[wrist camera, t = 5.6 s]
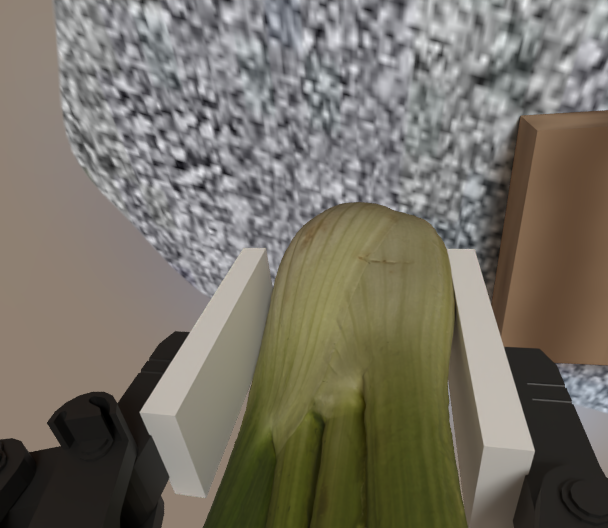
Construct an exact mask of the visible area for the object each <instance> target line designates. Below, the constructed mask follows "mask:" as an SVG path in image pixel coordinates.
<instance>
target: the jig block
mask: <svg viewBox="0 0 608 528" xmlns="http://www.w3.org/2000/svg"><path fill="white" fill-rule="evenodd" d="M491 306H492V309H493V313H494V316H495V319H496V323H497V326H498V329H499V333H500V336H501V339H502V343H503V346H504V347H520V348H539V349H541V350H542V351H543V352H544V353H545V354H546V355H547V356H548V357H549V358H550V359H551V360H552V361H553V362H554V363H571V364H593V365H608V110H605V111H589V112H572V113H556V114H540V115H524V116H520V122H519V129H518V135H517V142H516V148H515V155H514V161H513V168H512V174H511V181H510V187H509V194H508V200H507V207H506V213H505V220H504V226H503V233H502V239H501V246H500V252H499V259H498V265H497V271H496V278H495V284H494V291H493V297H492V304H491Z"/></svg>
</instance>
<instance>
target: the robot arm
mask: <svg viewBox="0 0 608 528" xmlns="http://www.w3.org/2000/svg"><path fill="white" fill-rule="evenodd" d="M447 253H448V256H449V260H450V265H451V272H452V280H453V288H454V296H455V324H454V332H453V338H452V345H451V354H450V363H449V375H448V382H449V389H450V398H451V406H452V414H453V421H454V429H455V437H456V445H457V453H458V461H459V469H460V477H461V484H462V492H463V500H464V508H465V515H466V520H467V524H468V528H608V478H607V477H606V476H605V474H604V472H603V471H602V469H601V467H600V465H599V463H598V461H597V458H596V456H595V454H594V451H593V449H592V447H591V444H590V442H589V440H588V437H587V435H586V433H585V430H584V428H583V426H582V423H581V421H580V419H579V416H578V414H577V412H576V409H575V407H574V405H573V404H572V402H571V401H572V400H571V398H570V395H569V393H568V391H567V388H565V384H564V381H563V379H562V377H561V374H560V372H559V370H558V367H557V365H556V364H555V363H554V362H553V361H552V360H551V359H550V358H549V357H548V356H547V355H546V354H545V353H544V352H543V351H542V350H541V349H539V348H520V347H504V346H503V343H502V339H501V336H500V333H499V329H498V326H497V323H496V319H495V316H494V313H493V309H492V306H491V303H490V299H489V296H488V293H487V289H486V286H485V283H484V279H483V276H482V273H481V269H480V266H479V263H478V259H477V256H476V253H475V249H447ZM272 291H273V288H272V282H271V276H270V270H269V264H268V258H267V252H266V248H243V250H242V251H241V253H240V254H239V256H238V258H237V259H236V261H235V262H234V264H233V265H232V267H231V269H230V270H229V272H228V273H227V275H226V277H225V278H224V280H223V281H222V283H221V284H220V286H219V288H218V289H217V291H216V292H215V294H214V296H213V297H212V299H211V300H210V302H209V303H208V305H207V307H206V308H205V310H204V311H203V313H202V315H201V316H200V318H199V319H198V321H197V322H196V324H195V326H194V327H193V329H192V330H191V332H177V331H175V332H174V333H173V334H171V335H170V336H169V337H167V338H166V339H165V340H163V341H162V342H161V343H160V344H159V345H158V346H157V348H156V349H155V351H154V352H153V354H152V355H151V356H150V358H149V361H147V362H146V363H145V365H144V366H143V368H142V369H141V373H138V375H137V377H136V378H135V379H134V381H133V382H132V383H131V385H130V386H129V388H128V389H127V390H126V392H125V393H124V395H123V396H122V398H121V399H120V401H119V402H118V403H117V402H116V400H115V399H114V397H113V396H112V395H110V394H108V393H105V392H90V393H87V394H83V395H80V396H78V397H76V398H74V399H72V400H70V401H68V402H66V403H65V404H64V405H63V406H62V407H60V408H59V409H58V410H57V411H55V412H54V414H53V415H52V417H51V418H50V419H49V421H48V422H47V424H48V425H49V427H50V429H51V430H52V432H53V433H54V435H55V437H56V438H57V440H58V442H59V443H60V445H61V446H59V447H55V448H49V449H44V450H39V451H34V452H28V451H27V449H26V448H25V446H24V445H23V443H22V442H21V441H19V440H16V439H13V438H11V439H1V440H0V528H161V525H162V521H163V516H164V501H163V499H162V497H161V494H162V492H163V490H164V488H165V486H166V484H167V482H168V480H170V483H171V485H172V487H173V489H174V492H175V494H182V495H189V496H196V497H203V498H206V497H207V495H208V492H209V489H210V487H211V484H212V482H213V479H214V477H215V474H216V471H217V469H218V466H219V463H220V461H221V459H222V456H223V454H224V451H225V449H226V446H227V443H228V441H229V438H230V436H231V433H232V431H233V428H234V425H235V423H236V420H237V418H238V415H239V413H240V410H241V407H242V405H243V402H244V400H245V397H246V394H247V392H248V389H249V387H250V384H251V381H252V379H253V376H254V372H255V367H256V363H257V360H258V356H259V351H260V347H261V342H262V338H263V333H264V329H265V324H266V320H267V315H268V312H269V307H270V302H271V296H272Z"/></svg>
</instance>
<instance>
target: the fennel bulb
mask: <svg viewBox="0 0 608 528" xmlns="http://www.w3.org/2000/svg"><path fill="white" fill-rule="evenodd" d="M454 324H455V296H454V288H453V280H452V272H451V265H450V260H449V256H448V253H447V249H446V247H445V244H444V242H443V241H442V239H441V237H440V236H439V235H438V234H437V232H436V230H435V229H434V228H433V227H432V226H431V224H430V223H428V222H427V221H426V220H424V219H421V218H418V217H416V216H414V215H409V214H406V213H403V212H398V211H394V210H392V209H390V208H388V207H386V206H382V205H379V204H375V203H364V202H354V203H343V204H339V205H337V206H334V207H331V208H329V209H327V210H325V211H324V212H322V213H320V214H319V215H317V216H315V217H314V218H313V219H311V220H310V221H309V222H307V223H306V224H305V225H303V227H302V228H301V229H300V230H299V231H298V232H297V233H296V235H295V237H294V238H293V239H292V241H291V243H290V245H289V247H288V248H287V250H286V252H285V254H284V256H283V258H282V260H281V263H280V265H279V268H278V272H277V275H276V278H275V283H274V288H273V291H272V296H271V302H270V307H269V312H268V315H267V320H266V324H265V329H264V333H263V338H262V342H261V347H260V351H259V356H258V360H257V363H256V367H255V372H254V376H253V380H252V385H251V388H250V392H249V397H248V402H247V407H246V411H245V414H244V417H243V421H242V425H241V428H240V432H239V434H238V438H237V440H236V441H235V444H234V448H233V451H232V453H231V456H230V459H229V462H228V465H227V468H226V470H225V473H224V476H223V478H222V481H221V484H220V486H219V488H218V491H217V493H216V496H215V499H214V501H213V504H212V506H211V509H210V512H209V514H208V516H207V519H206V522H205V524H204V526H203V528H468V524H467V520H466V515H465V509H464V505H463V501H462V496H461V491H460V484H459V477H458V470H457V466H456V460H455V453H454V446H453V440H452V433H451V428H450V423H449V410H448V406H449V395H448V375H449V363H450V354H451V345H452V338H453V332H454Z"/></svg>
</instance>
